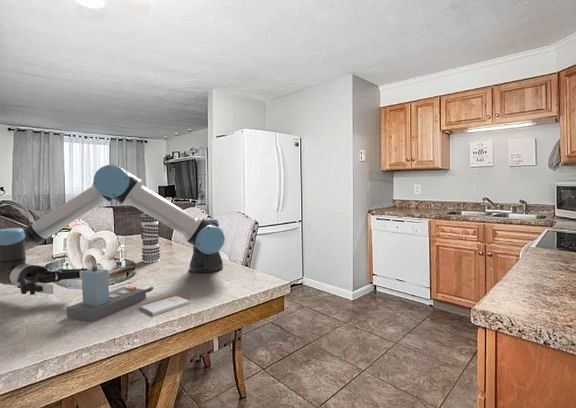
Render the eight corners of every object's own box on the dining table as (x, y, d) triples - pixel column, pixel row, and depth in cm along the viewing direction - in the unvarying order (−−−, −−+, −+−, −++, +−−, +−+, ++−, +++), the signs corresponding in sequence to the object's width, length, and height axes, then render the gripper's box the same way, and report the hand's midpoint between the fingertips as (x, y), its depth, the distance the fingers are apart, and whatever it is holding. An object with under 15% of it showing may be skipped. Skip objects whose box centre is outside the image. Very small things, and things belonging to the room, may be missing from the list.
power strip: (142, 287, 119) (142, 277, 119) (163, 290, 116) (163, 280, 115) (67, 317, 92) (66, 304, 92) (91, 322, 89) (91, 309, 89)
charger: (95, 302, 99) (93, 264, 98) (109, 304, 97) (107, 266, 96) (83, 307, 95) (81, 267, 94) (97, 309, 93) (95, 269, 92)
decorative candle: (164, 259, 164) (163, 212, 162) (150, 263, 156) (148, 213, 154) (152, 258, 168) (150, 211, 166) (137, 262, 159) (135, 213, 158)
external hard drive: (139, 311, 98) (175, 299, 108) (153, 317, 93) (189, 305, 103) (139, 305, 98) (175, 294, 108) (152, 312, 93) (189, 300, 103)
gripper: (68, 276, 118) (109, 282, 110) (-15, 299, 94) (30, 309, 87) (67, 257, 117) (109, 261, 110) (-17, 275, 94) (29, 282, 86)
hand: (74, 282), depth 98 cm, fingers open, 13 cm apart
